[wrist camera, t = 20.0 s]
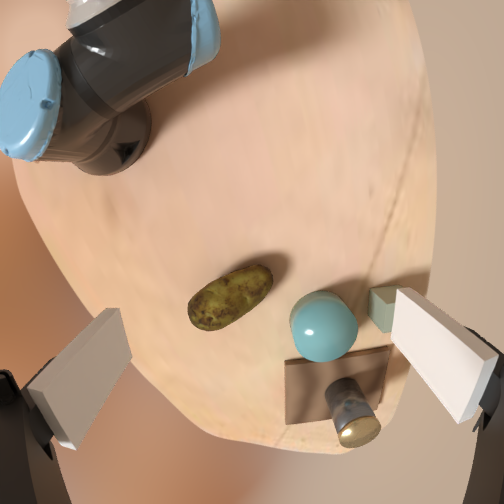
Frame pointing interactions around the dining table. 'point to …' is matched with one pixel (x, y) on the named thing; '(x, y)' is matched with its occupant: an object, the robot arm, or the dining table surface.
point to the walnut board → (323, 374)
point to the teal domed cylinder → (322, 326)
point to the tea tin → (351, 413)
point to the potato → (229, 297)
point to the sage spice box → (382, 306)
